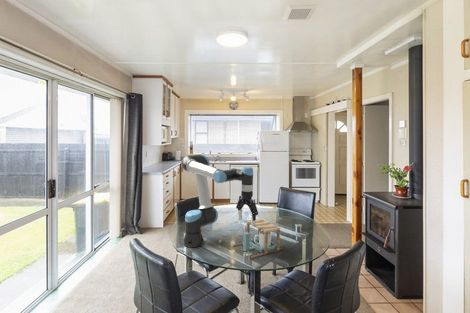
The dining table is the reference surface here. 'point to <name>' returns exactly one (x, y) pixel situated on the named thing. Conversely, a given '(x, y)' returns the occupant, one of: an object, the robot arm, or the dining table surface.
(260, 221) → the wooden slat rack
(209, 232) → the dining table surface
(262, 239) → the cup
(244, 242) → the sled
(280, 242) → the pit
